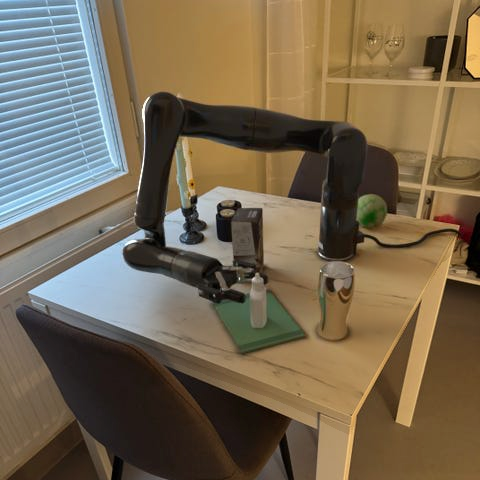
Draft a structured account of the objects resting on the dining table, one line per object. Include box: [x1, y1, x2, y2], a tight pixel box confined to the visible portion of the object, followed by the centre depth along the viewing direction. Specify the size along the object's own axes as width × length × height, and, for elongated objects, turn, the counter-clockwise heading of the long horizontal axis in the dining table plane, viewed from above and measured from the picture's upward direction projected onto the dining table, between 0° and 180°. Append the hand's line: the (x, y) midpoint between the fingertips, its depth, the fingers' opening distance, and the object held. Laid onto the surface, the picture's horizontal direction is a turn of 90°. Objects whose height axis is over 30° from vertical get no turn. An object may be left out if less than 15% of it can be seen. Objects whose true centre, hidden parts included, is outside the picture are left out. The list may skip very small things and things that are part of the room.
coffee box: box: [230, 207, 265, 283], centre depth 114 cm, size 9×6×16 cm
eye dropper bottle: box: [249, 273, 267, 328], centre depth 97 cm, size 4×6×12 cm
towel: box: [212, 288, 306, 354], centre depth 102 cm, size 14×20×1 cm
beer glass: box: [317, 261, 356, 341], centre depth 93 cm, size 7×7×15 cm
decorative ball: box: [356, 193, 388, 230], centre depth 135 cm, size 10×10×10 cm
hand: (256, 289), depth 96 cm, fingers open, 8 cm apart
